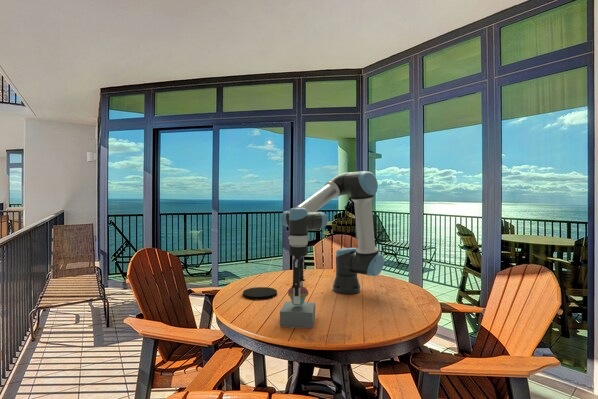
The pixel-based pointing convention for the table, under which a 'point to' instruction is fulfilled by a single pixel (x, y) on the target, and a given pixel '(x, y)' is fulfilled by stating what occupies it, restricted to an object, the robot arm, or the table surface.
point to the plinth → (297, 315)
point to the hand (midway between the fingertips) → (298, 300)
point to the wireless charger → (259, 293)
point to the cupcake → (302, 294)
